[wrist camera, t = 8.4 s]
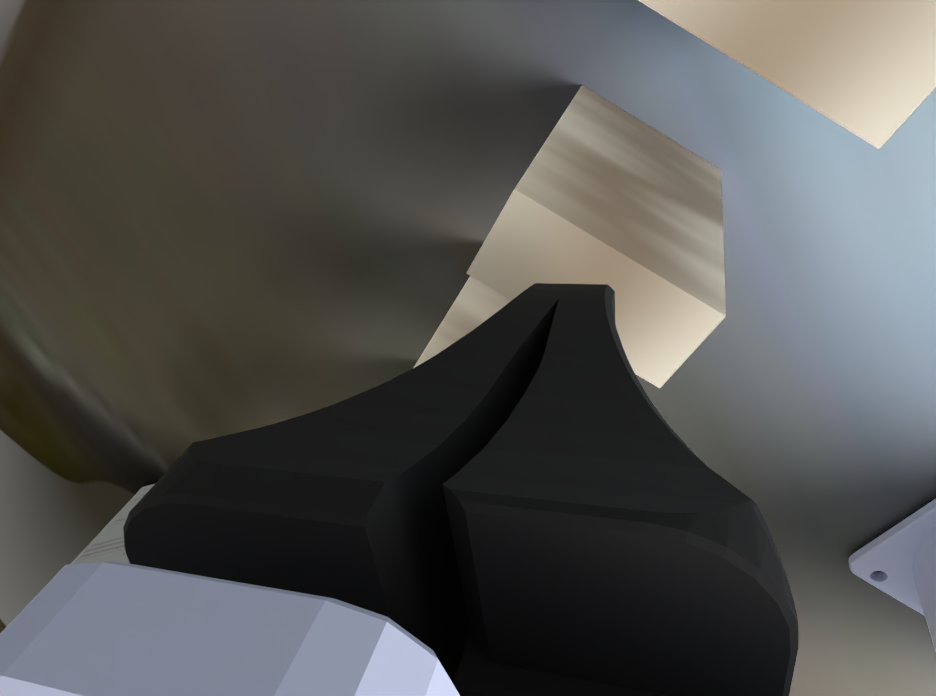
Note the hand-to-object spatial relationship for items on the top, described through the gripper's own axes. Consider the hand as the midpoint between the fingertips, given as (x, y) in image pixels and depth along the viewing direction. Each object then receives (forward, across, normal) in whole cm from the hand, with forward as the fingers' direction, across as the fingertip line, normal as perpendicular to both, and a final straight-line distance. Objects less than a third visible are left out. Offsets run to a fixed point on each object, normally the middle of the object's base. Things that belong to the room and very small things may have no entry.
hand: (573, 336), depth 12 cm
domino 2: (+10, -3, -5) cm, 11 cm away
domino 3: (+10, 0, 0) cm, 10 cm away
